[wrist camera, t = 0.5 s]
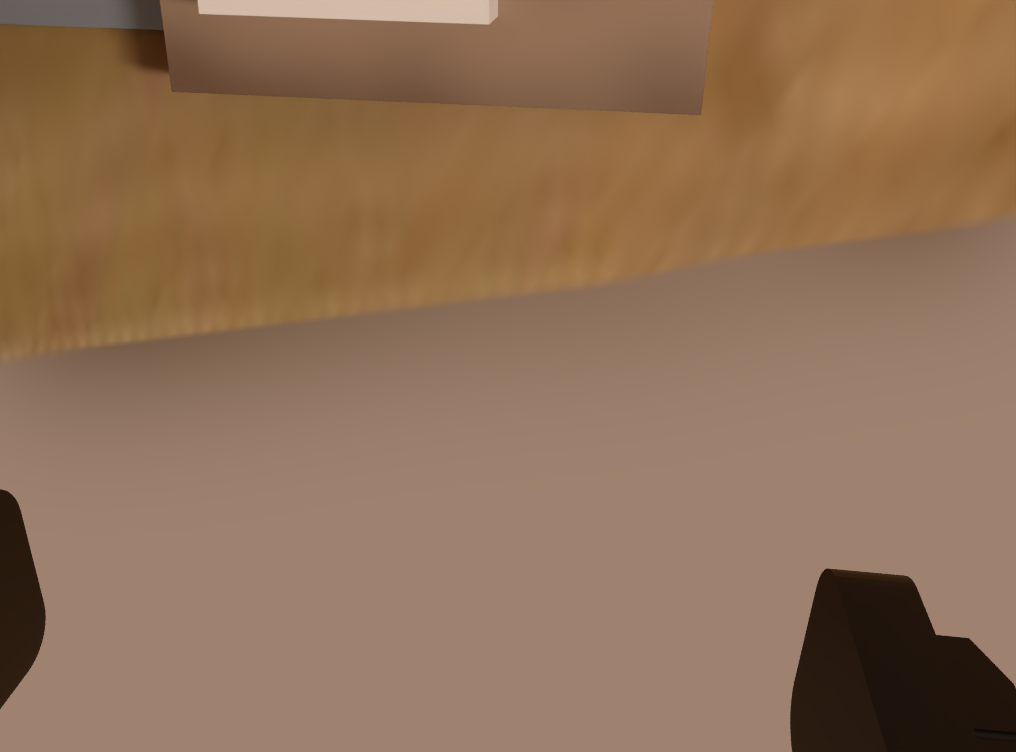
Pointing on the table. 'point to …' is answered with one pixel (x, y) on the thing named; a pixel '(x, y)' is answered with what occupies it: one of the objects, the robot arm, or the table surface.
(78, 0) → the mat
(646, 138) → the table surface
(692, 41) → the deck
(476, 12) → the tile
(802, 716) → the robot arm
